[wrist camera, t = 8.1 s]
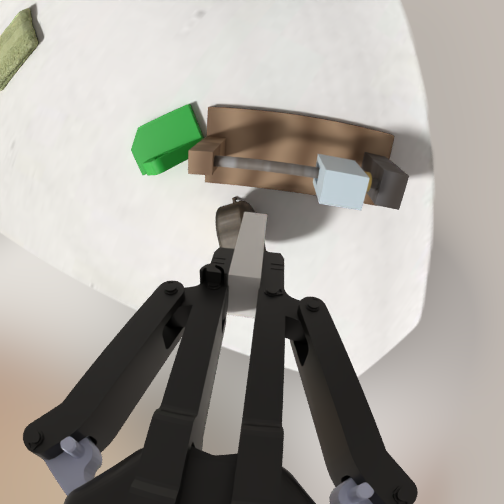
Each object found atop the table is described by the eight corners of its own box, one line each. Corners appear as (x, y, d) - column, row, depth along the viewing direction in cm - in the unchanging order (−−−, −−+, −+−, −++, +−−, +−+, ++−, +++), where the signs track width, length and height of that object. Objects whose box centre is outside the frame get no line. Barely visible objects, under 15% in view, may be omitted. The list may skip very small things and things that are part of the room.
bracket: (190, 103, 38) (175, 107, 33) (208, 147, 42) (196, 159, 37) (128, 133, 41) (107, 142, 36) (146, 172, 45) (128, 187, 40)
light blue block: (312, 182, 36) (319, 203, 31) (317, 153, 34) (325, 169, 28) (348, 188, 36) (361, 210, 31) (354, 160, 34) (369, 177, 28)
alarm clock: (222, 194, 46) (197, 247, 33) (253, 185, 45) (241, 236, 31) (244, 248, 52) (231, 313, 38) (273, 241, 50) (269, 307, 37)
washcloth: (-10, 56, 29) (-20, 57, 26) (32, 5, 24) (22, 4, 22) (0, 95, 35) (-10, 98, 33) (43, 46, 31) (32, 46, 28)
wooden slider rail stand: (206, 179, 45) (188, 206, 36) (209, 106, 38) (189, 114, 30) (374, 202, 44) (395, 233, 36) (391, 134, 37) (420, 151, 29)
